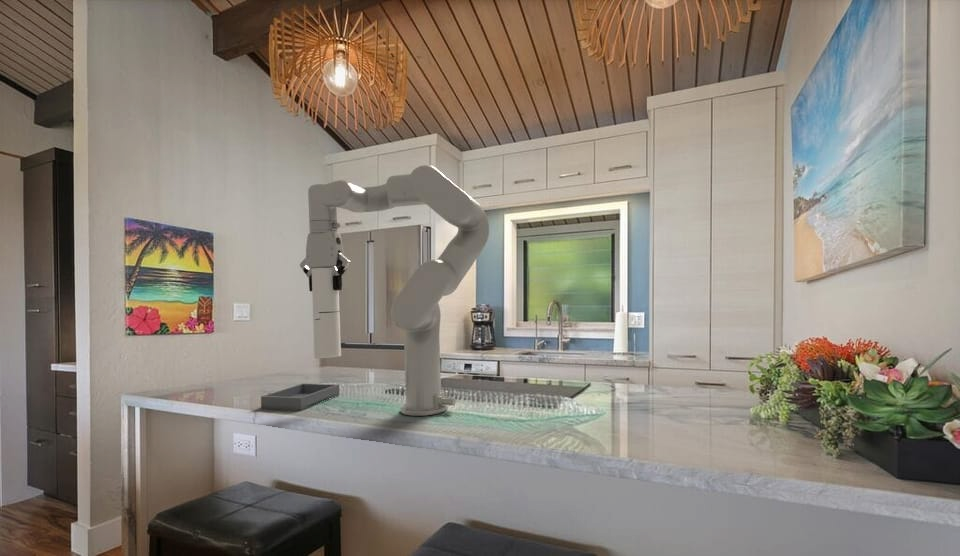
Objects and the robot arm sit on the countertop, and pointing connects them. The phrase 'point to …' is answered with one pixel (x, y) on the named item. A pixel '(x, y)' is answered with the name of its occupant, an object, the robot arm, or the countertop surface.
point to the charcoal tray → (299, 396)
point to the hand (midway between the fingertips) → (325, 290)
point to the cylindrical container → (325, 314)
